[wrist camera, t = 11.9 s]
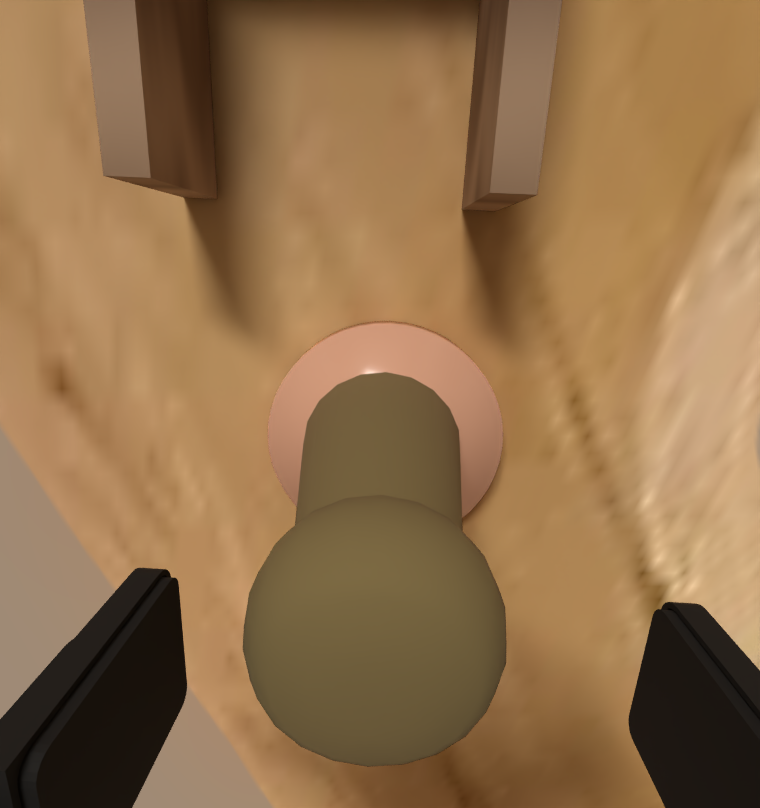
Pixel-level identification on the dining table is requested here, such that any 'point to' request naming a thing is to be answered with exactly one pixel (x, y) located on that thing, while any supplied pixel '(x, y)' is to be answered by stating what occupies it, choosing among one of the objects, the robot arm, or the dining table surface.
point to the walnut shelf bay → (193, 113)
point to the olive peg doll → (376, 586)
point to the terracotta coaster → (397, 354)
